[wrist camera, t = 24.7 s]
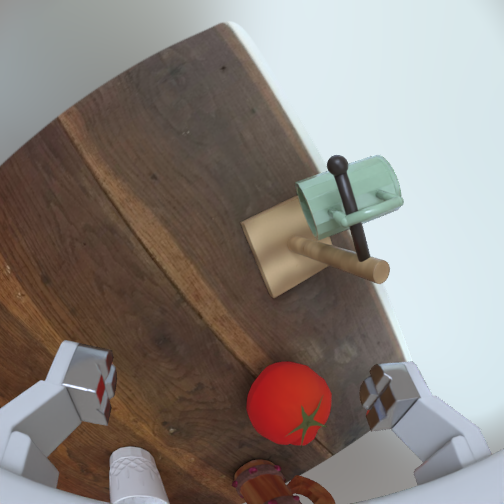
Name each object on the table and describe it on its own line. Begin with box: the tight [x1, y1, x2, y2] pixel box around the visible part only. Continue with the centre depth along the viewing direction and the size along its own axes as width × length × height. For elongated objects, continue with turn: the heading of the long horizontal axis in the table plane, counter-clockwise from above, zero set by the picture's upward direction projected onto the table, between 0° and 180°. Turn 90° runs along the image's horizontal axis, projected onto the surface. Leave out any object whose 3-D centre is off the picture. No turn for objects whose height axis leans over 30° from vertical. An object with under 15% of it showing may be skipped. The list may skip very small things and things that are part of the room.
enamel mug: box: [295, 155, 404, 241], centre depth 28 cm, size 10×6×9 cm
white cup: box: [109, 446, 170, 504], centre depth 32 cm, size 8×8×10 cm
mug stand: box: [241, 155, 390, 298], centre depth 31 cm, size 15×10×16 cm, turn 23°
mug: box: [232, 459, 335, 504], centre depth 39 cm, size 15×8×15 cm, turn 74°
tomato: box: [246, 361, 331, 447], centre depth 38 cm, size 11×13×10 cm
